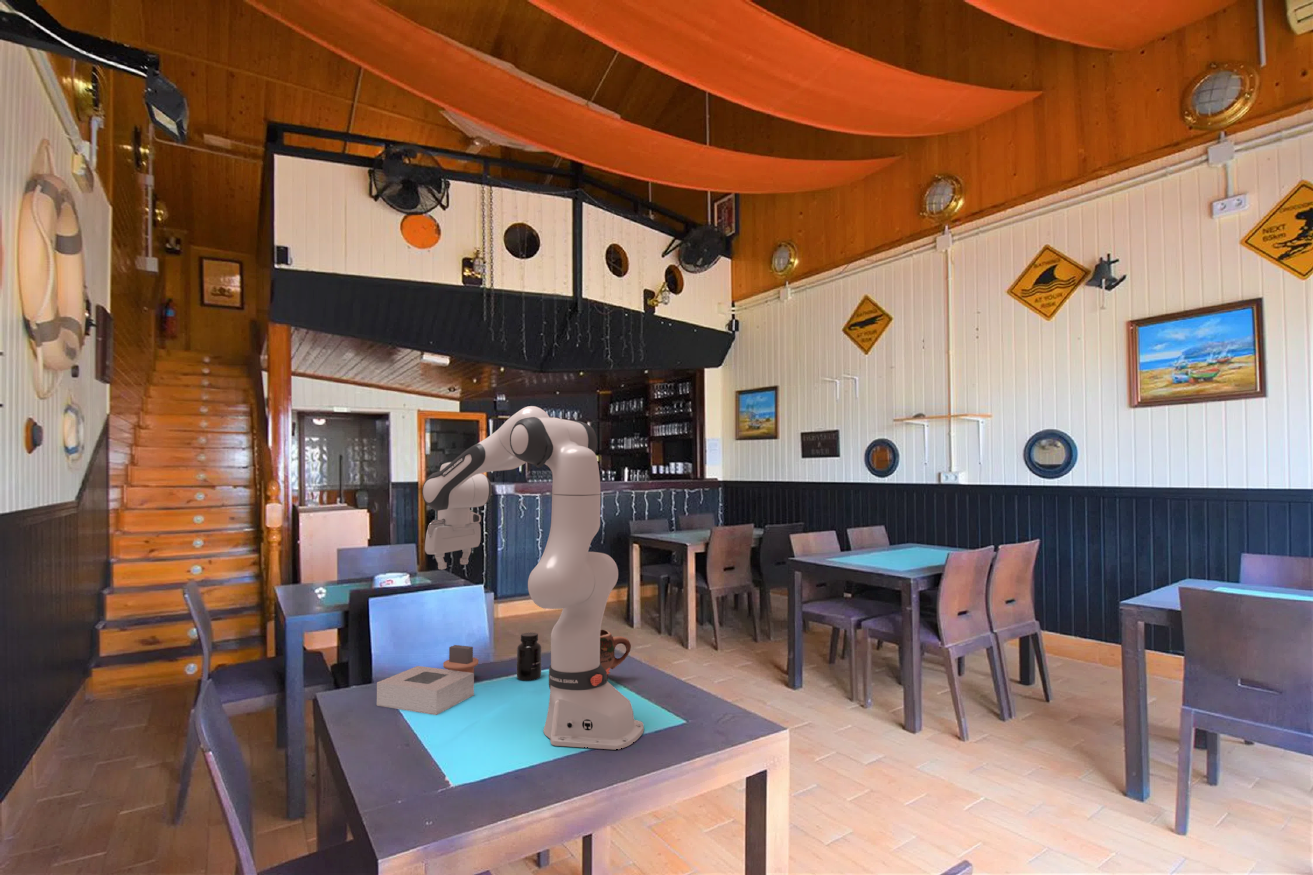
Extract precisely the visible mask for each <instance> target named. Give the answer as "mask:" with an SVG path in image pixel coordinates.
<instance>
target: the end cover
mask: <svg viewBox="0 0 1313 875" xmlns="http://www.w3.org/2000/svg"><path fill="white" fill-rule="evenodd" d="M448 648H449V651H448V653H449V654H448V659H446V660H445V661H444V662H443V665H442V667H443V669H446V670H454V671H462V672H470V673H474V674H475V667H476V666H478V665H479V659H478V658H477V657H474V647H473V646H468V645H459V644H453V645H451V646H449V647H448Z"/></svg>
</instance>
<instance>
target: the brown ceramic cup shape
mask: <svg viewBox="0 0 1313 875" xmlns="http://www.w3.org/2000/svg"><path fill="white" fill-rule="evenodd" d="M618 645H624V647H625V652H624V653H623V655H622V656H621V657H619V658H618V657H616V656H615V652H616V651H615V650H616V646H618ZM631 645H632V644H631V642H630V641H629V639H628V638H627V637H624V636H621V635H619V636H618V635H617V636H612V633H611V632H610V631H609V630H606V629H602V628H601V631H600V663H601V665H602V667H603V668H604V669H605V670H607V669H608V668H610V670H614V669H615V668H616V667H618V666H619V665H621V664H622V663H623V662H624V661H625V660H626V658H627V657H628V655H629V654H630V652H631V648H632V646H631ZM608 680H609V674H607V682H609V681H608Z"/></svg>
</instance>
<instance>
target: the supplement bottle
mask: <svg viewBox="0 0 1313 875" xmlns="http://www.w3.org/2000/svg"><path fill="white" fill-rule="evenodd" d="M538 641H539V633H537V632H523V633H521V634H520V643H519V644H518V645H517V648H516V678H517V679H518V680H521V681H534V679H535V680H538V679H540V678H541V676H542V645H541V643H539V642H538ZM537 678H538V679H537Z"/></svg>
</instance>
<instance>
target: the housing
mask: <svg viewBox="0 0 1313 875" xmlns="http://www.w3.org/2000/svg"><path fill="white" fill-rule="evenodd" d="M474 695H475V672H474V673H470V672H462V671H454V670H448V669H445V668H439V667H438V668H437V667H430V666H429V667H428V666H422V665H421V666H420V665H416V666H414V667H412V668H409V669H407V670H404V671H401V672H398V673H397V674H395V675H391V676H389V677H387V678H385V679H382V680H380V681H377V682H376V706H377V707H383V708H390V709H396V710H403V711H409V712H415V713H421V714H428V715H433V716H437V715H440V714H441V713H443V712H445V711H446V710H449V709H450V708H452V707H455V706H456V705H458V704H460V703H462V702H464V701H465V700H468V699H469V698H472V697H474Z"/></svg>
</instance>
